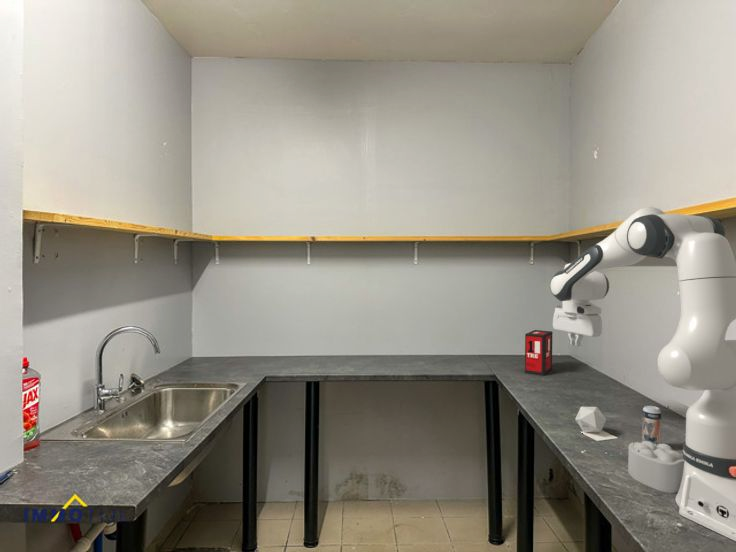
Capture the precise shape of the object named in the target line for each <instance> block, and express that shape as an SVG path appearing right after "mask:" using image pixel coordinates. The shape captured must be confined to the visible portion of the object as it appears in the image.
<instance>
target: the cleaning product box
mask: <svg viewBox="0 0 736 552" xmlns="http://www.w3.org/2000/svg"><path fill="white" fill-rule="evenodd" d="M524 336H525V337H524V342H525V343H524V373H525V374H528V375H535V376H541V377H544V376H545V375H546V374H548V373H549V372H550V371H552V370H553V331H552V330H550V331H549V330H540V329H539V330H538V329H534V330H532V331H529V332H527V333H525V335H524Z"/></svg>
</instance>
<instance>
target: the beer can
mask: <svg viewBox="0 0 736 552" xmlns="http://www.w3.org/2000/svg"><path fill="white" fill-rule="evenodd" d="M661 426H662V411H661V410H660V407H657V406H654V405H644V407H643V408H642V429H641V430H642V434H641V435H642V438H641V439H642V441H641V442H643V441H649V442H652V443H653V444H656V445H658V444H661V433H662V432H661V431H662V429H661Z"/></svg>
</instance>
